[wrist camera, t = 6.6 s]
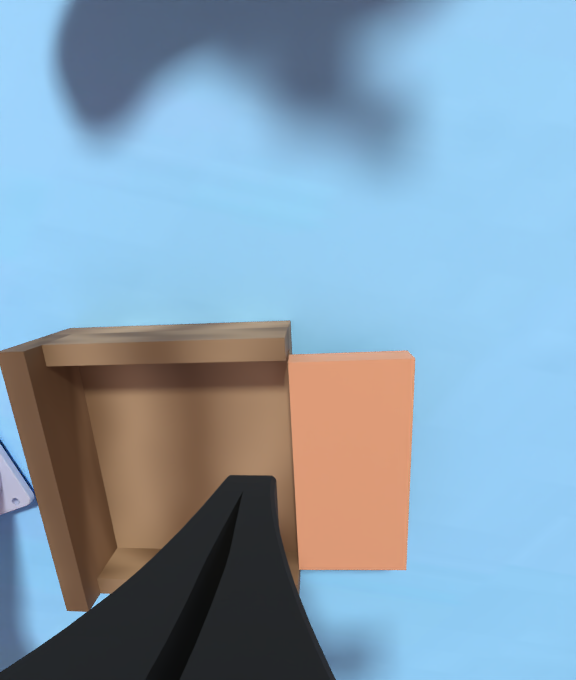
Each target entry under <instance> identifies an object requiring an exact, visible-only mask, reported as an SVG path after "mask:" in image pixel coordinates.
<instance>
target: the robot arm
mask: <svg viewBox="0 0 576 680" xmlns="http://www.w3.org/2000/svg"><path fill="white" fill-rule="evenodd" d="M33 500H34V494H33V492H32V491H31V489H30V488H29V486H28V485H27V483H26V482H25V480H24V479H23V477H22V476H21V474H20V473H19V471H18V470H17V468H16V467H15V465H14V464H13V462H12V461H11V459H10V458H9V456H8V455H7V453H6V452H5V450H4V449H3V447H2V446H1V444H0V515H2V514H4V513H7V512H10V511H13V510H16V509H19V508H21V507H24V506H27V505H29V504H30V503H31V502H32V501H33ZM0 680H336V679H335V677H334V675H333V673H332V671H331V669H330V667H329V665H328V662H327V660H326V658H325V656H324V654H323V651H322V649H321V647H320V645H319V643H318V640H317V638H316V636H315V634H314V631H313V629H312V627H311V625H310V622H309V620H308V617H307V615H306V612H305V610H304V607H303V605H302V602H301V599H300V597H299V594H298V591H297V588H296V586H295V583H294V580H293V577H292V574H291V571H290V567H289V564H288V561H287V557H286V554H285V550H284V547H283V543H282V539H281V534H280V529H279V519H278V501H277V482H276V478H274V477H273V476H272V475H229V476H228V477H227V478H226V479H225V480H224V481H223V483H222V484H221V485H220V486H219V487H218V488H217V490H216V491H215V492H214V493H213V494H212V495H211V497H210V498H209V499H208V500H207V501H206V502H205V503H204V505H203V506H202V507H201V508H200V509H199V510H198V511H197V512H196V514H195V515H194V516H193V517H192V518H191V519H190V520H189V521H188V522H187V523H186V524H185V525H184V527H183V528H182V529H181V530H180V531H179V532H178V533H177V534H176V535H175V536H174V537H173V538H172V539H171V540H170V541H169V542H168V543H167V544H166V545H165V546H164V547H163V548H162V549H161V550H160V551H159V552H158V553H157V554H156V555H155V556H154V557H153V558H152V559H150V560H149V561H148V562H147V563H146V564H145V565H144V566H143V567H142V568H141V569H140V570H138V571H137V572H136V573H135V574H134V575H133V576H132V577H130V578H129V579H128V580H127V581H126V582H125V583H123V584H122V585H121V586H120V587H119V588H117V589H116V590H115V591H114V592H113V593H111V594H110V595H109V596H108V597H106V598H105V599H104V600H102V601H101V602H100V603H98V604H97V605H96V606H94V607H93V608H92V609H90V610H89V611H88V612H86V613H85V614H84V615H82V616H81V617H80V618H78V619H77V620H76V621H74V622H73V623H72V624H71V625H69V626H68V627H67V628H65V629H64V630H62V631H61V632H60V633H58V634H57V635H55V636H54V637H52V638H51V639H50V640H48V641H47V642H45V643H44V644H42V645H41V646H39V647H38V648H36V649H35V650H34V651H32V652H31V653H29V654H28V655H26V656H25V657H23V658H21V659H20V660H18V661H17V662H15V663H14V664H12V665H11V666H9V667H8V668H6V669H5V670H3V671H2V672H0Z"/></svg>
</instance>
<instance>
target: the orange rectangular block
mask: <svg viewBox="0 0 576 680" xmlns="http://www.w3.org/2000/svg"><path fill="white" fill-rule="evenodd" d="M288 372H289V390H290V409H291V428H292V446H293V465H294V484H295V502H296V521H297V540H298V558H299V570H406V561H407V538H408V514H409V491H410V467H411V444H412V421H413V397H414V374H415V358H414V357H413V356H412V355H411V354H410V353H409V352H408V351H381V352H352V353H323V354H294V355H289V360H288Z"/></svg>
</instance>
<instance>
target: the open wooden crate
mask: <svg viewBox="0 0 576 680" xmlns="http://www.w3.org/2000/svg"><path fill="white" fill-rule="evenodd" d="M289 355H292V342H291V322H290V321H265V322H236V323H207V324H179V325H150V326H121V327H92V328H69V329H66V330H63V331H60V332H57V333H54V334H51V335H48V336H45V337H42V338H39V339H36V340H32V341H29V342H26V343H23V344H20V345H17V346H14V347H11V348H8V349H5V350H2V351H0V367H1V370H2V374H3V378H4V381H5V385H6V389H7V392H8V396H9V400H10V403H11V407H12V411H13V414H14V418H15V422H16V425H17V429H18V433H19V436H20V440H21V444H22V447H23V451H24V455H25V458H26V462H27V466H28V469H29V473H30V477H31V480H32V484H33V488H34V491H35V495H36V499H37V502H38V506H39V510H40V513H41V517H42V521H43V524H44V528H45V532H46V535H47V539H48V543H49V546H50V550H51V554H52V558H53V561H54V565H55V569H56V572H57V576H58V580H59V583H60V587H61V591H62V594H63V598H64V602H65V605H66V609H67V611H84V612H88V611H89V610H90V609H91V608H92V606H93V604H94V603H95V601H96V600H97V598H98V596H99V595H100V593H109V594H111V593H113V592H114V591H115V590H116V589H117V588H119V587H120V586H121V585H122V584H123V583H125V582H126V581H127V580H128V579H129V578H130V577H132V576H133V575H134V574H135V573H136V572H137V571H138V570H140V569H141V568H142V567H143V566H144V565H145V564H146V563H147V562H148V561H149V560H150V559H152V558H153V557H154V556H155V555H156V554H157V553H158V552H159V551H160V550H161V549H162V548H163V547H164V546H165V545H166V544H167V543H168V542H169V541H170V540H171V539H172V538H173V537H174V536H175V535H176V534H177V533H178V532H179V531H180V530H181V529H182V528H183V527H184V525H185V524H186V523H187V522H188V521H189V520H190V519H191V518H192V517H193V516H194V515H195V514H196V512H197V511H198V510H199V509H200V508H201V507H202V506H203V505H204V503H205V502H206V501H207V500H208V499H209V498H210V497H211V495H212V494H213V493H214V492H215V491H216V490H217V488H218V487H219V486H220V485H221V484H222V483H223V481H224V480H225V479H226V478H227V477H228V476H229V475H272V476H273V477H274V478H276V482H277V501H278V519H279V529H280V534H281V539H282V543H283V547H284V550H285V554H286V557H287V561H288V564H289V567H290V571H291V574H292V577H293V580H294V583H295V586H296V588H297V591H298V594H299V590H300V570H299V558H298V540H297V521H296V502H295V484H294V465H293V446H292V428H291V409H290V390H289V372H288V360H289Z"/></svg>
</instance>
